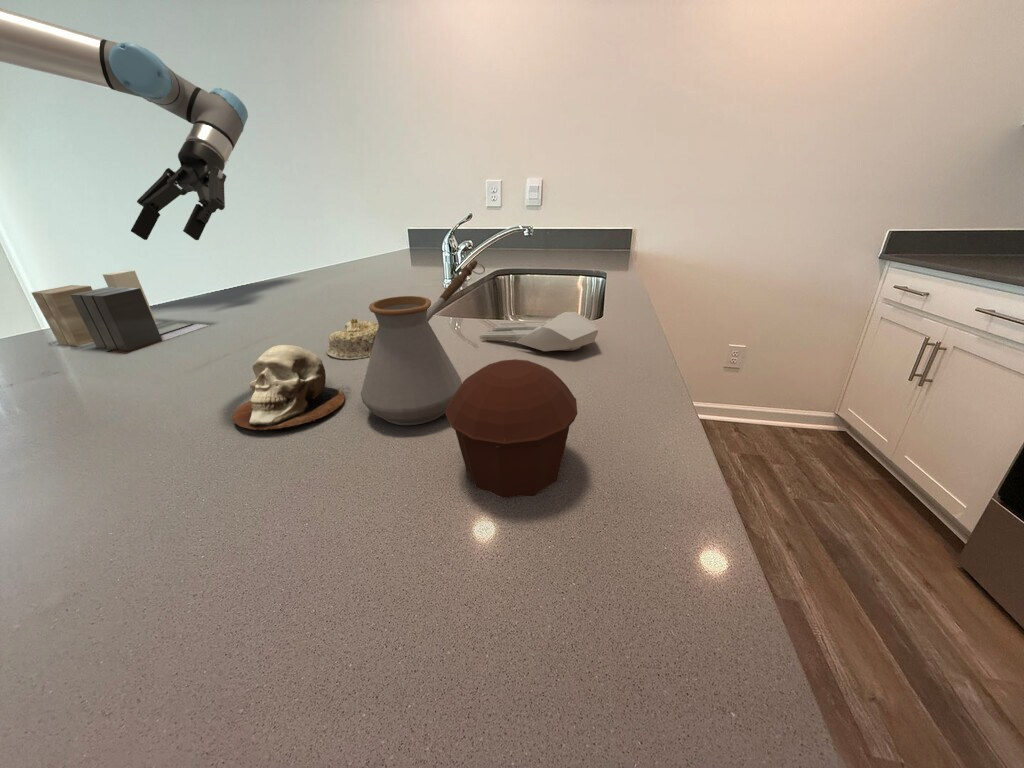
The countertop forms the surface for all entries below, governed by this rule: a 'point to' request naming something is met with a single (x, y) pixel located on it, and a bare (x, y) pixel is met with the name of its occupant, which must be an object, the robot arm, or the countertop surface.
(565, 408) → the muffin
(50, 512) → the countertop surface
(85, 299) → the grey stand
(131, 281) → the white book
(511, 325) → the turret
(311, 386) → the skull
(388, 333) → the coffee pot
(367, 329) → the cake
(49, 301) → the tan wooden block
